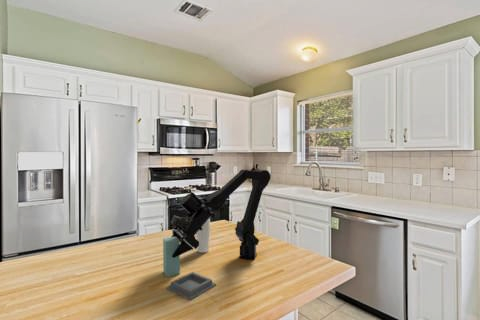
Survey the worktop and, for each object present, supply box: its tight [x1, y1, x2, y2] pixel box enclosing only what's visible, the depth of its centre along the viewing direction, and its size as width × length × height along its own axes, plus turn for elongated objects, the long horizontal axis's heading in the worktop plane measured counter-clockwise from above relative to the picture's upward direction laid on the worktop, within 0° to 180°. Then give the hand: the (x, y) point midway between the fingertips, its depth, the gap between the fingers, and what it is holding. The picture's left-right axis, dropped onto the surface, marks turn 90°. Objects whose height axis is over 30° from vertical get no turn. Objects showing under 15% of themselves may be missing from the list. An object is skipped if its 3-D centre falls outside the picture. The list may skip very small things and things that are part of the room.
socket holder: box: [165, 271, 217, 301], centre depth 92 cm, size 12×12×2 cm
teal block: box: [162, 236, 181, 278], centre depth 103 cm, size 5×5×13 cm
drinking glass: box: [195, 218, 211, 254], centre depth 125 cm, size 7×7×15 cm
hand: (169, 252), depth 103 cm, fingers open, 9 cm apart
